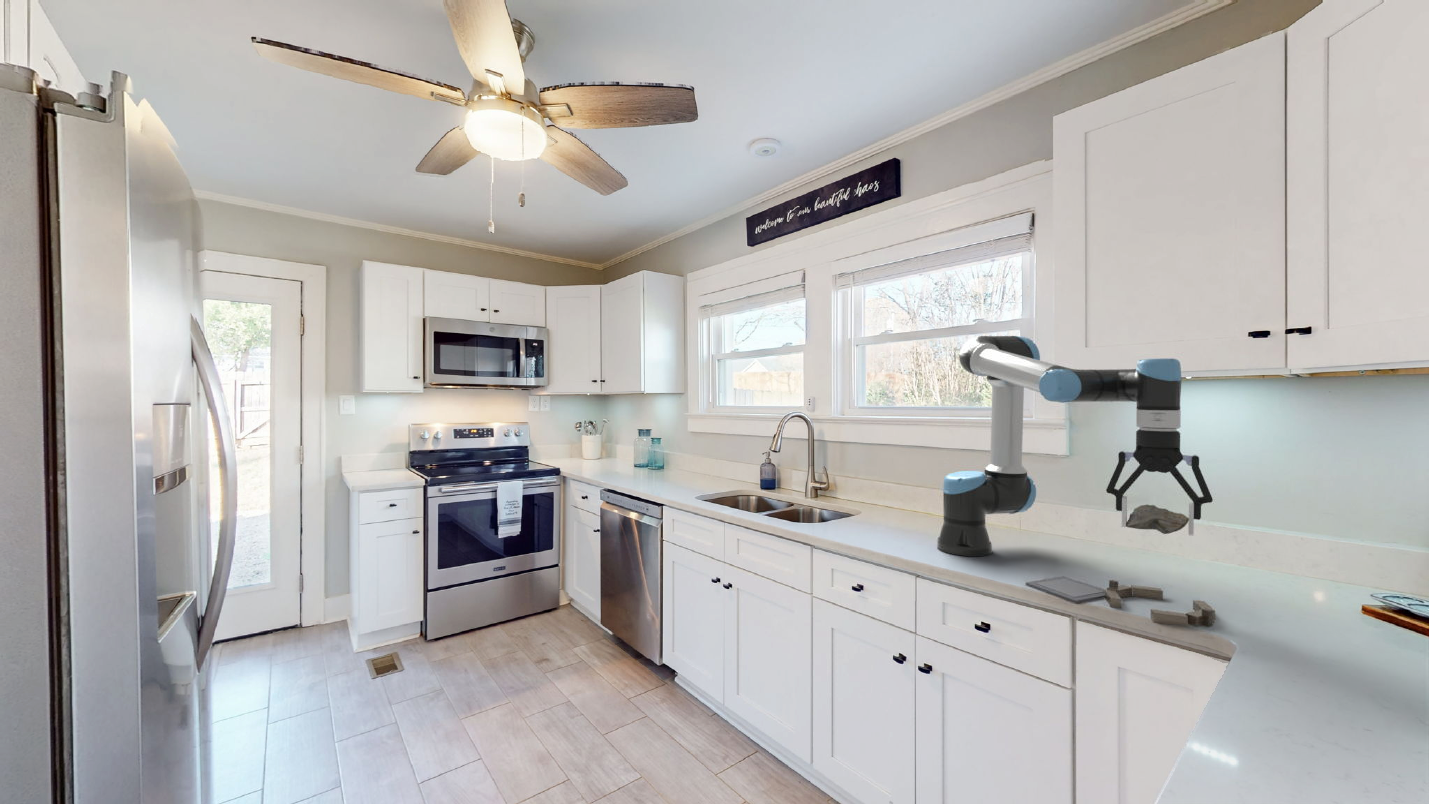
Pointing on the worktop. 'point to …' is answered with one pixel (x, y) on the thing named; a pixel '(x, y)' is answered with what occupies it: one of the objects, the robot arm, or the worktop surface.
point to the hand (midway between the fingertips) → (1156, 529)
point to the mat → (1068, 589)
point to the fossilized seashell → (1156, 519)
